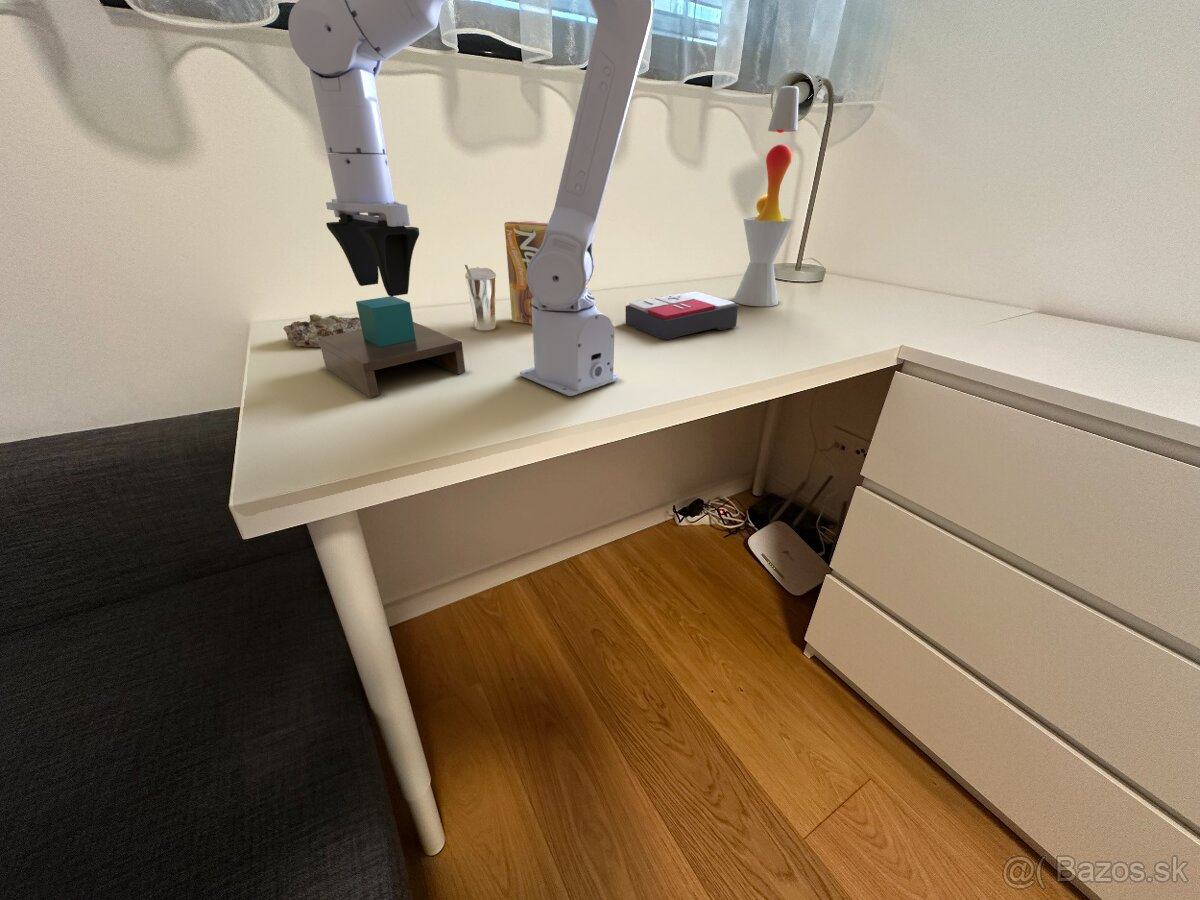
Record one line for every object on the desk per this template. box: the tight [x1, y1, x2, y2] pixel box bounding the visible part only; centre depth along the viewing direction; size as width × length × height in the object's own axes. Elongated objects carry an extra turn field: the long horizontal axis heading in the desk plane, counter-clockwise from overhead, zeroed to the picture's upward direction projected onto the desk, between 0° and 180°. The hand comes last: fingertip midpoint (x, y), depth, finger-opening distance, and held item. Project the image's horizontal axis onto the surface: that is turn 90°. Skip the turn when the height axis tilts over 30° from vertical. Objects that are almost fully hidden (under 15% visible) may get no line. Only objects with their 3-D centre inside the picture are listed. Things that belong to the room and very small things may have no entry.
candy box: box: [503, 220, 549, 325], centre depth 81 cm, size 9×4×15 cm, turn 67°
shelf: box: [318, 321, 466, 399], centre depth 63 cm, size 13×12×4 cm
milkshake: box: [464, 264, 497, 332], centre depth 79 cm, size 5×5×10 cm
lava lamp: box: [732, 85, 800, 307], centre depth 93 cm, size 9×9×35 cm
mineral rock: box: [283, 313, 362, 348], centre depth 74 cm, size 11×4×8 cm
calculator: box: [625, 291, 739, 340], centre depth 84 cm, size 11×4×15 cm
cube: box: [355, 296, 416, 347], centre depth 61 cm, size 4×4×4 cm
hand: (382, 289), depth 59 cm, fingers open, 7 cm apart
